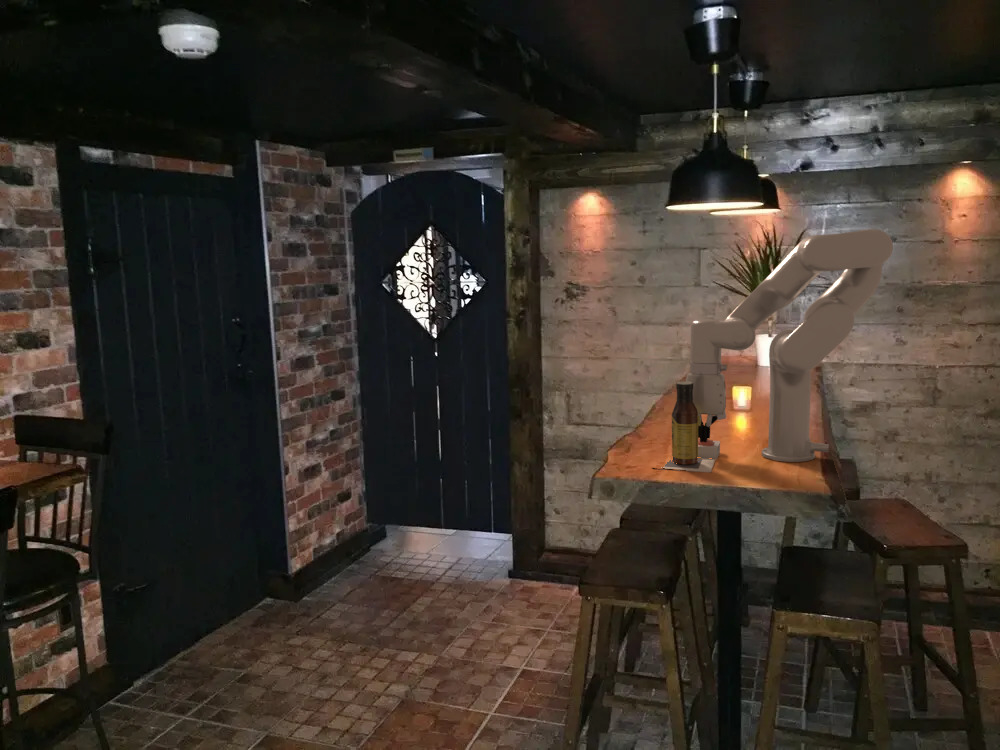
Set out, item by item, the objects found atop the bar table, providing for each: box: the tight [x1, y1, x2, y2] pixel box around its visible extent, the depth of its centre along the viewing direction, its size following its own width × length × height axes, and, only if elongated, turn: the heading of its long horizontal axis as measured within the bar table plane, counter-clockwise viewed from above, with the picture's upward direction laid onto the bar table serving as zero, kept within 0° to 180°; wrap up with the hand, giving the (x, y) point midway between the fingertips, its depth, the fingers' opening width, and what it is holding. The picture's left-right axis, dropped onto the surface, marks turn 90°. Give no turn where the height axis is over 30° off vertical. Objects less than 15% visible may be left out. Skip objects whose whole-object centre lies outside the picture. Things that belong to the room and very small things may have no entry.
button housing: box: [697, 440, 721, 460], centre depth 210 cm, size 7×7×3 cm
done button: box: [698, 438, 714, 446], centre depth 210 cm, size 4×4×3 cm
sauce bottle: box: [671, 380, 699, 465], centre depth 200 cm, size 6×6×20 cm
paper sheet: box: [661, 458, 716, 473], centre depth 201 cm, size 14×12×1 cm
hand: (703, 440), depth 209 cm, fingers closed
